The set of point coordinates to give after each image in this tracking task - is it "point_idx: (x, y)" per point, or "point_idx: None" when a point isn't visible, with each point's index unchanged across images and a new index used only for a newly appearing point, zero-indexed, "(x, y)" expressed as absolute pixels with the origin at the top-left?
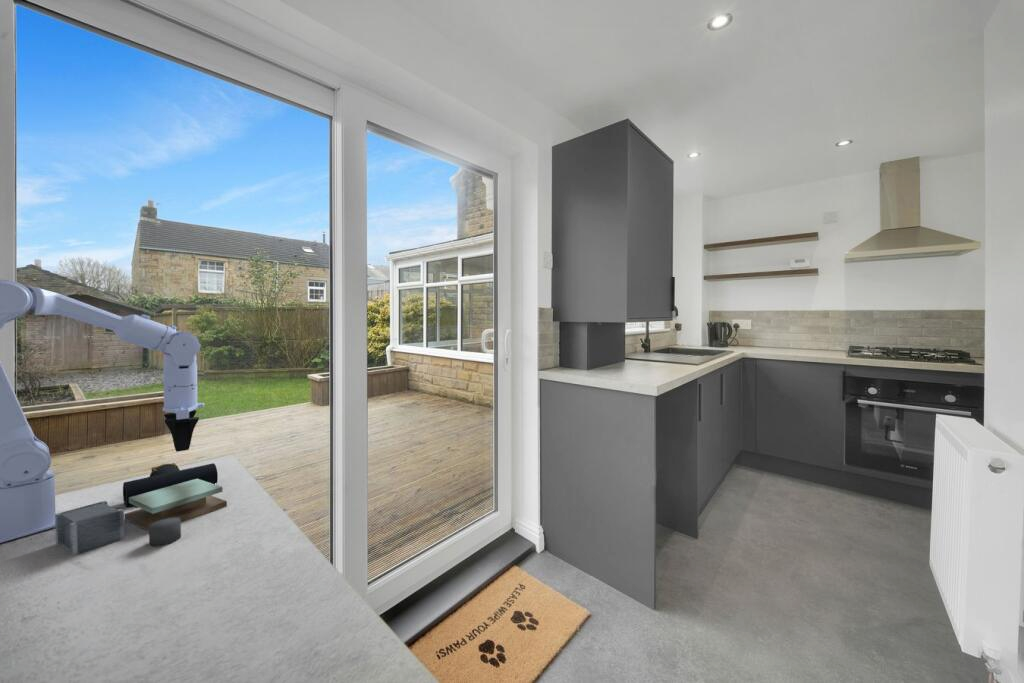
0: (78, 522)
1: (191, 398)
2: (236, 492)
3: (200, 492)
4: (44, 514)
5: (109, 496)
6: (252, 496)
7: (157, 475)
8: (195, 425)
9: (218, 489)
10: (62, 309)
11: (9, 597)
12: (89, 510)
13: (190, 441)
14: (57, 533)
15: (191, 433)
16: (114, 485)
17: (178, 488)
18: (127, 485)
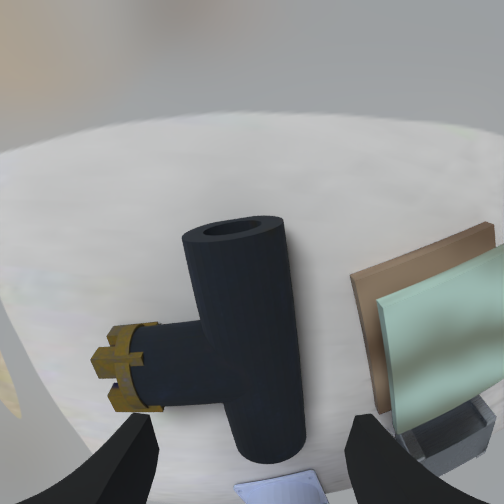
0: (483, 450)
1: None
2: (406, 174)
3: None
4: (313, 501)
5: (162, 433)
6: (468, 149)
7: (260, 415)
8: (481, 501)
9: None
10: None
11: (499, 430)
12: (445, 461)
13: (395, 441)
14: None
15: (431, 476)
16: (77, 416)
17: (437, 352)
18: (291, 455)
